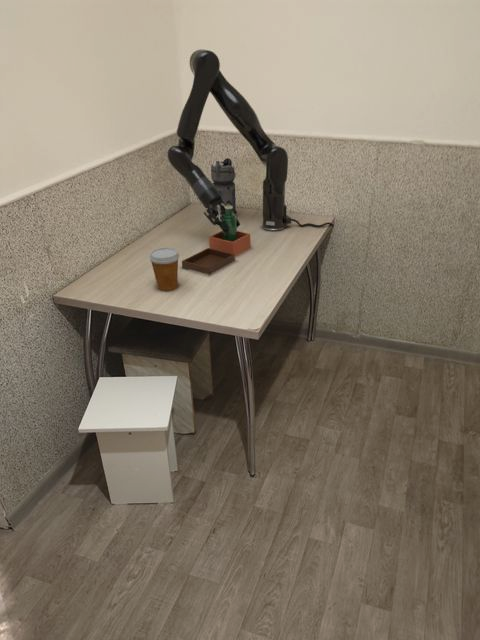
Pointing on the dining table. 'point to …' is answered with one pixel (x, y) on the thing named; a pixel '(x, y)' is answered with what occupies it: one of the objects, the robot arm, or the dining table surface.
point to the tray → (208, 261)
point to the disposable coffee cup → (165, 267)
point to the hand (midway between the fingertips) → (232, 228)
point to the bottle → (230, 224)
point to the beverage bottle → (224, 180)
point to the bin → (230, 243)
